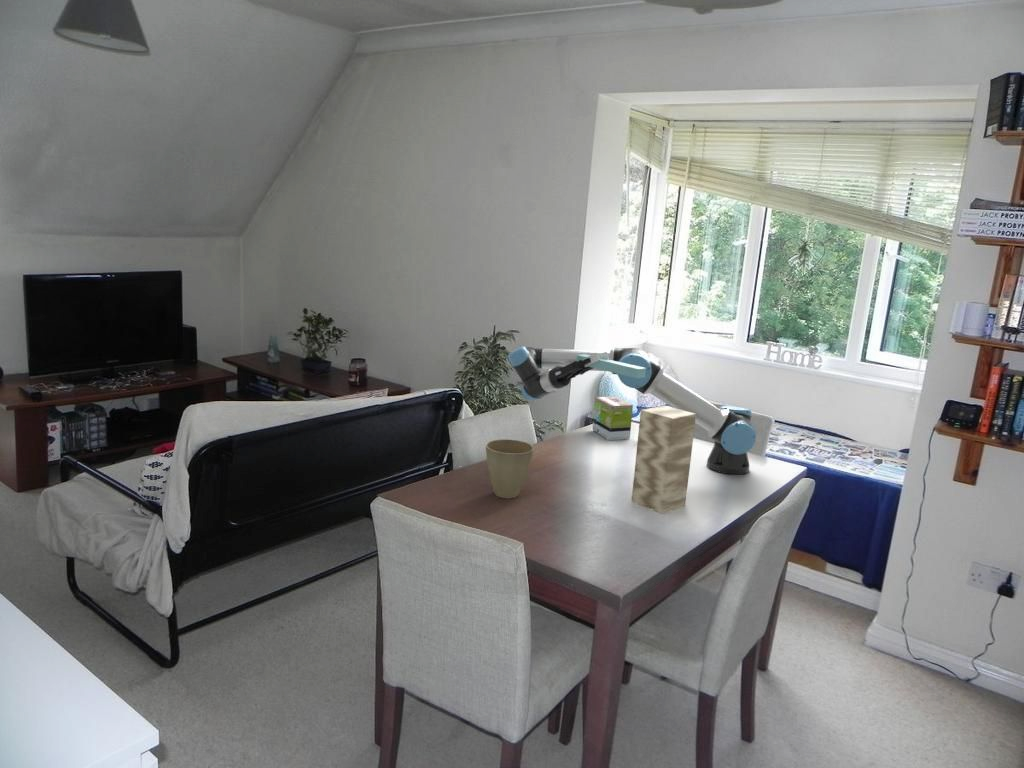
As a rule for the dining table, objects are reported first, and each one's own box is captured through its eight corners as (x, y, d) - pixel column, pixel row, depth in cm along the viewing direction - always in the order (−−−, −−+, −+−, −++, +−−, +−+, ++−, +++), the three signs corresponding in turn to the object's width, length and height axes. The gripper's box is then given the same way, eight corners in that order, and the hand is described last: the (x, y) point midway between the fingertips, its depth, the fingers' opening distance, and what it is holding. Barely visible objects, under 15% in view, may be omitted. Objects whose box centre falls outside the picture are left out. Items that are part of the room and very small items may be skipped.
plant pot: (473, 492, 247) (475, 444, 243) (505, 483, 257) (508, 436, 254) (507, 506, 237) (510, 456, 234) (539, 496, 248) (543, 447, 244)
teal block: (576, 363, 265) (576, 354, 264) (584, 362, 267) (584, 354, 267) (637, 378, 246) (638, 369, 246) (645, 377, 249) (646, 368, 248)
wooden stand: (631, 501, 248) (640, 409, 242) (654, 494, 256) (664, 405, 250) (662, 513, 239) (672, 418, 233) (685, 505, 247) (696, 413, 241)
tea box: (591, 430, 329) (594, 396, 326) (612, 429, 333) (615, 395, 330) (609, 440, 316) (612, 405, 313) (630, 439, 320) (634, 404, 317)
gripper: (575, 386, 280) (622, 364, 263) (541, 391, 269) (589, 368, 252) (569, 366, 281) (615, 343, 265) (535, 370, 270) (582, 346, 253)
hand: (602, 355), depth 258 cm, fingers closed on teal block, 4 cm apart
